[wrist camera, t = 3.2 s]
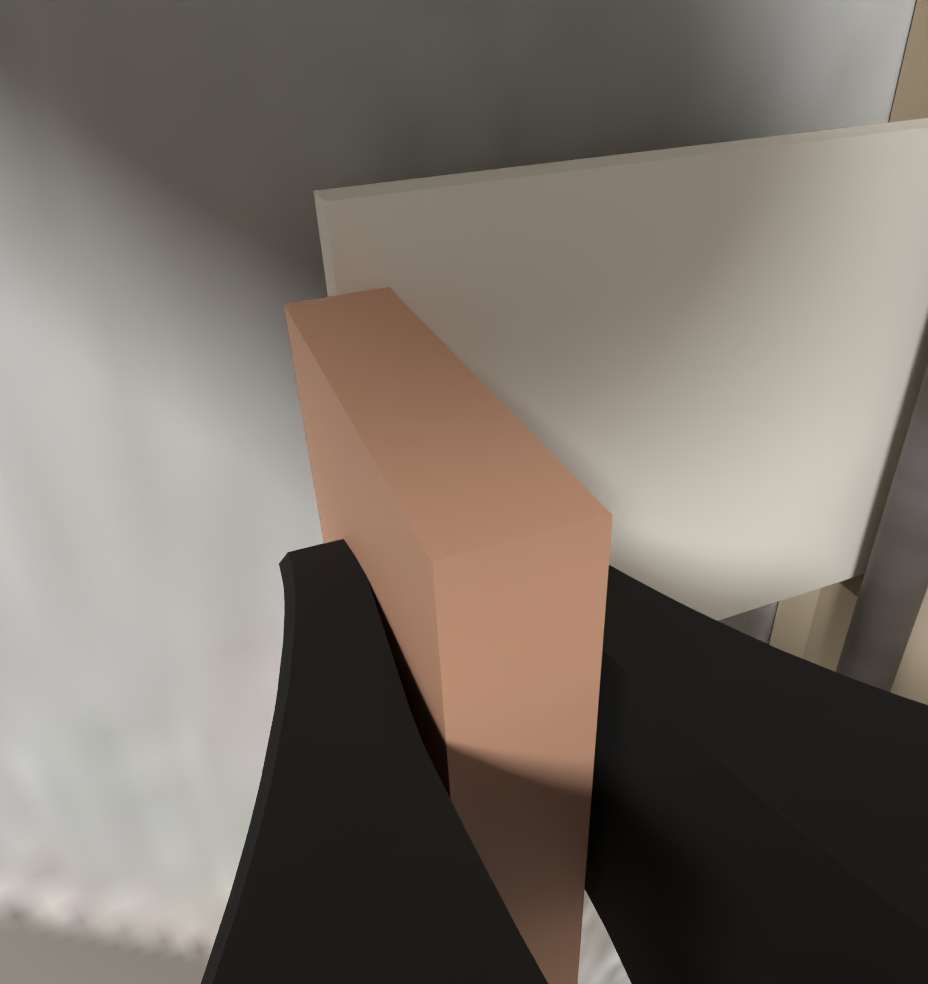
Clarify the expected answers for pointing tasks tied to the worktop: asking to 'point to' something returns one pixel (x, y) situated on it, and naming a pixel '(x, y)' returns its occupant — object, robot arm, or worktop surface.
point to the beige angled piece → (602, 432)
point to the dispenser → (881, 527)
